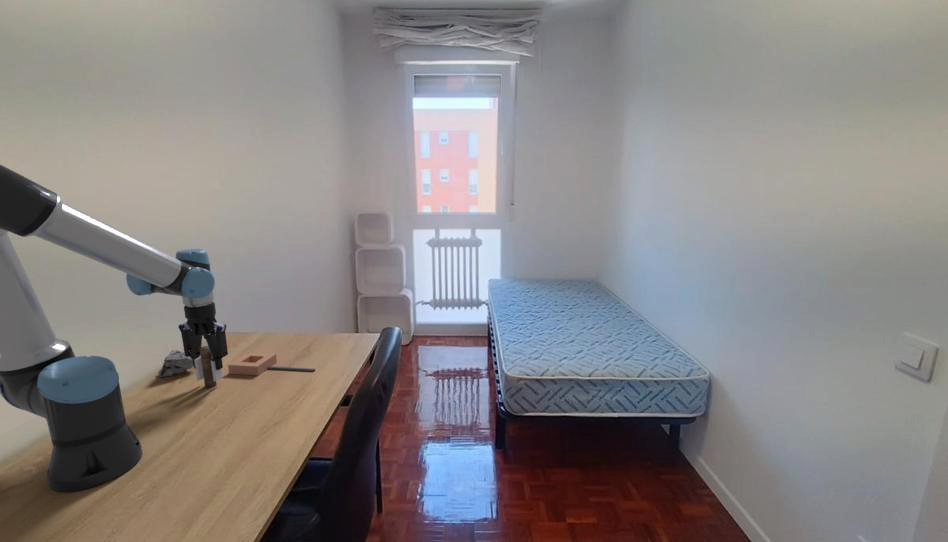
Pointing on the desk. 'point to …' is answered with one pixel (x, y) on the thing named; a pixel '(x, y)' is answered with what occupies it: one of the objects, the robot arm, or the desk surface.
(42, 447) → the desk surface
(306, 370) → the strip
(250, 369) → the pink square frame
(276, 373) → the desk surface
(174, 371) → the mineral specimen
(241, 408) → the desk surface
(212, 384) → the dowel
